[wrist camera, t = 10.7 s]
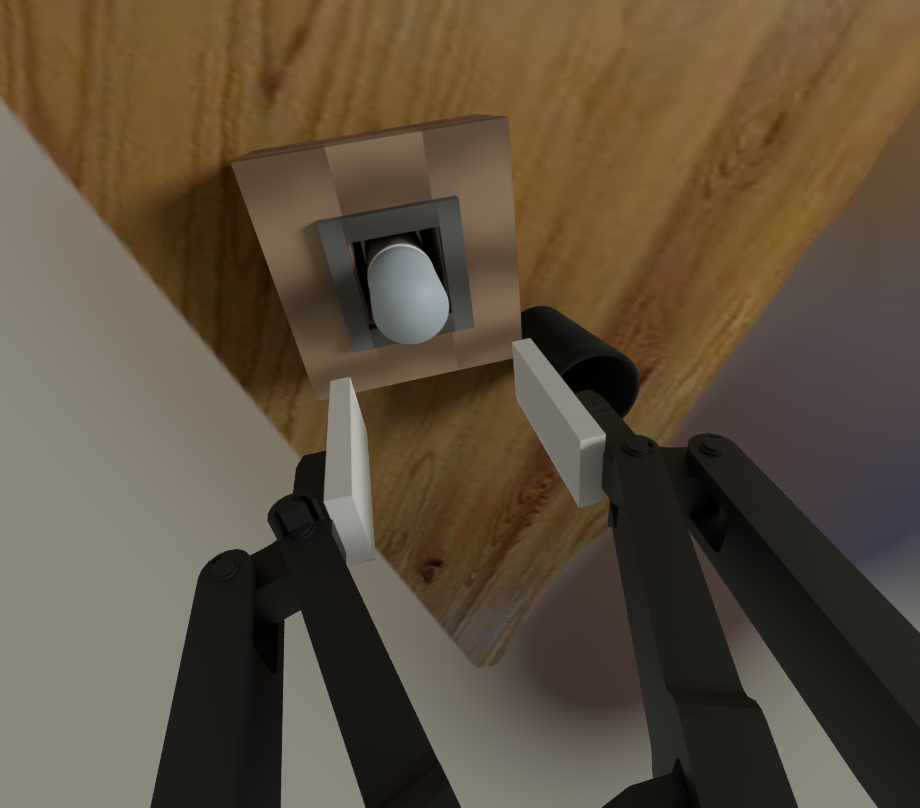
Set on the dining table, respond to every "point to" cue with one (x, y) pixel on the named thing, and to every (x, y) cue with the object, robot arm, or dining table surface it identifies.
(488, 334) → the socket block
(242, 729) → the robot arm
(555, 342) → the cup
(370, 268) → the peg
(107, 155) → the dining table surface
